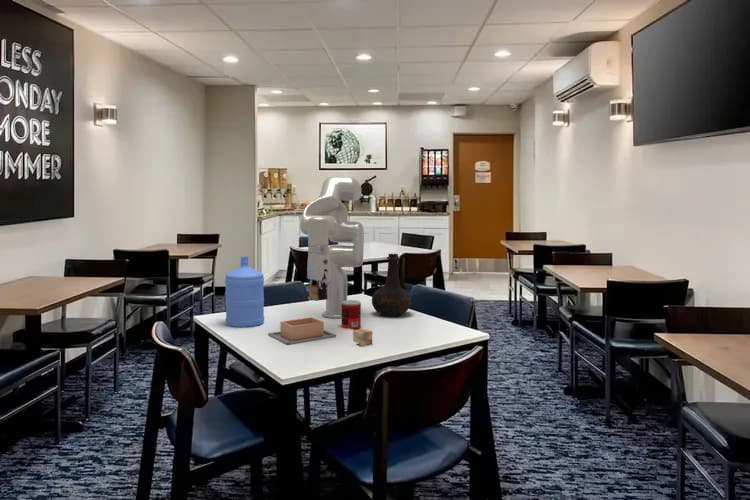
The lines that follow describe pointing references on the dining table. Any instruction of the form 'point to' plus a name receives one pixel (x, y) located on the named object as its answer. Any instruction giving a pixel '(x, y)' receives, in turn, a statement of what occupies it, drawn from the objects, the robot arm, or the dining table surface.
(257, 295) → the water jug
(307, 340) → the tray
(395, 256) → the brown vase
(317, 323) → the pot
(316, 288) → the walnut block
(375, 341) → the dining table surface
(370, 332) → the oak block
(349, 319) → the canned food
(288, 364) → the dining table surface
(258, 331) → the dining table surface
